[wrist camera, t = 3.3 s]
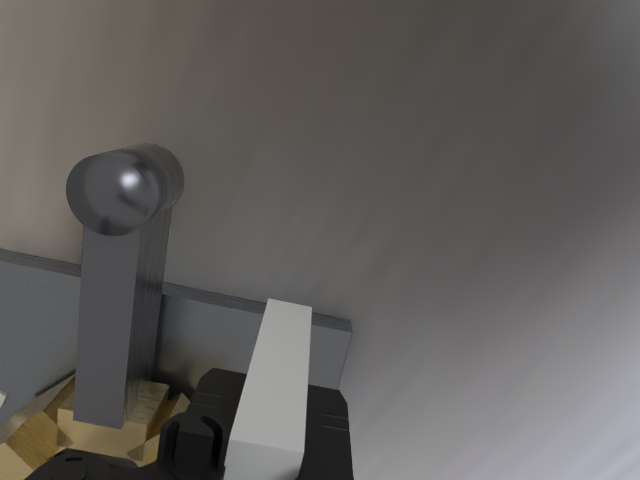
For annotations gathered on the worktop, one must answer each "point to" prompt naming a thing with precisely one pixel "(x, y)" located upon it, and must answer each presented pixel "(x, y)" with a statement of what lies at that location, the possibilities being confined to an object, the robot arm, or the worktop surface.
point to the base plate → (171, 341)
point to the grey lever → (109, 319)
